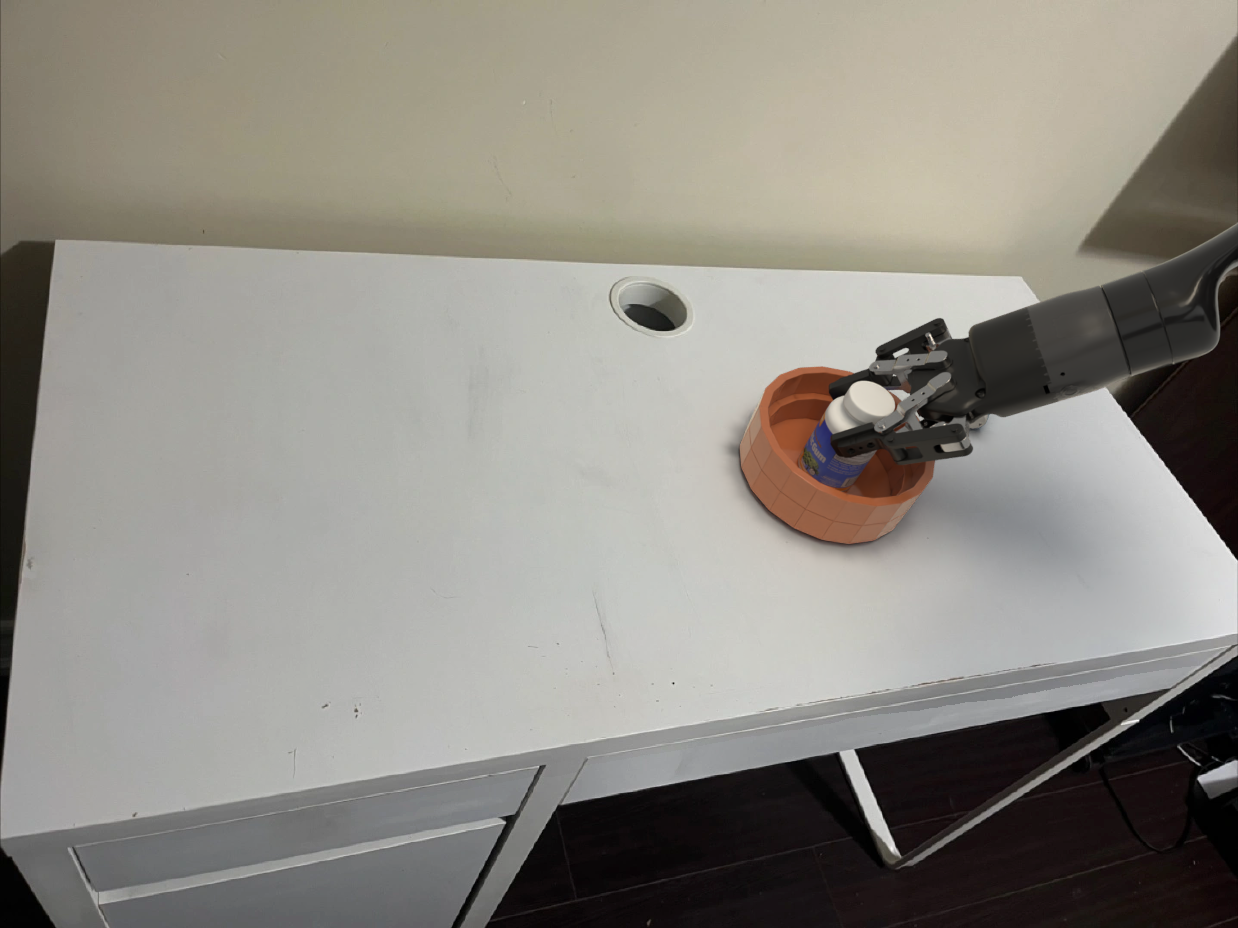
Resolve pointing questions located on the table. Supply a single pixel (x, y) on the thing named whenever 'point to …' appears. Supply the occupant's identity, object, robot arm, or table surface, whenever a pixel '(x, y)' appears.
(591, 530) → the table surface
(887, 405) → the pill bottle
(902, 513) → the bowl
